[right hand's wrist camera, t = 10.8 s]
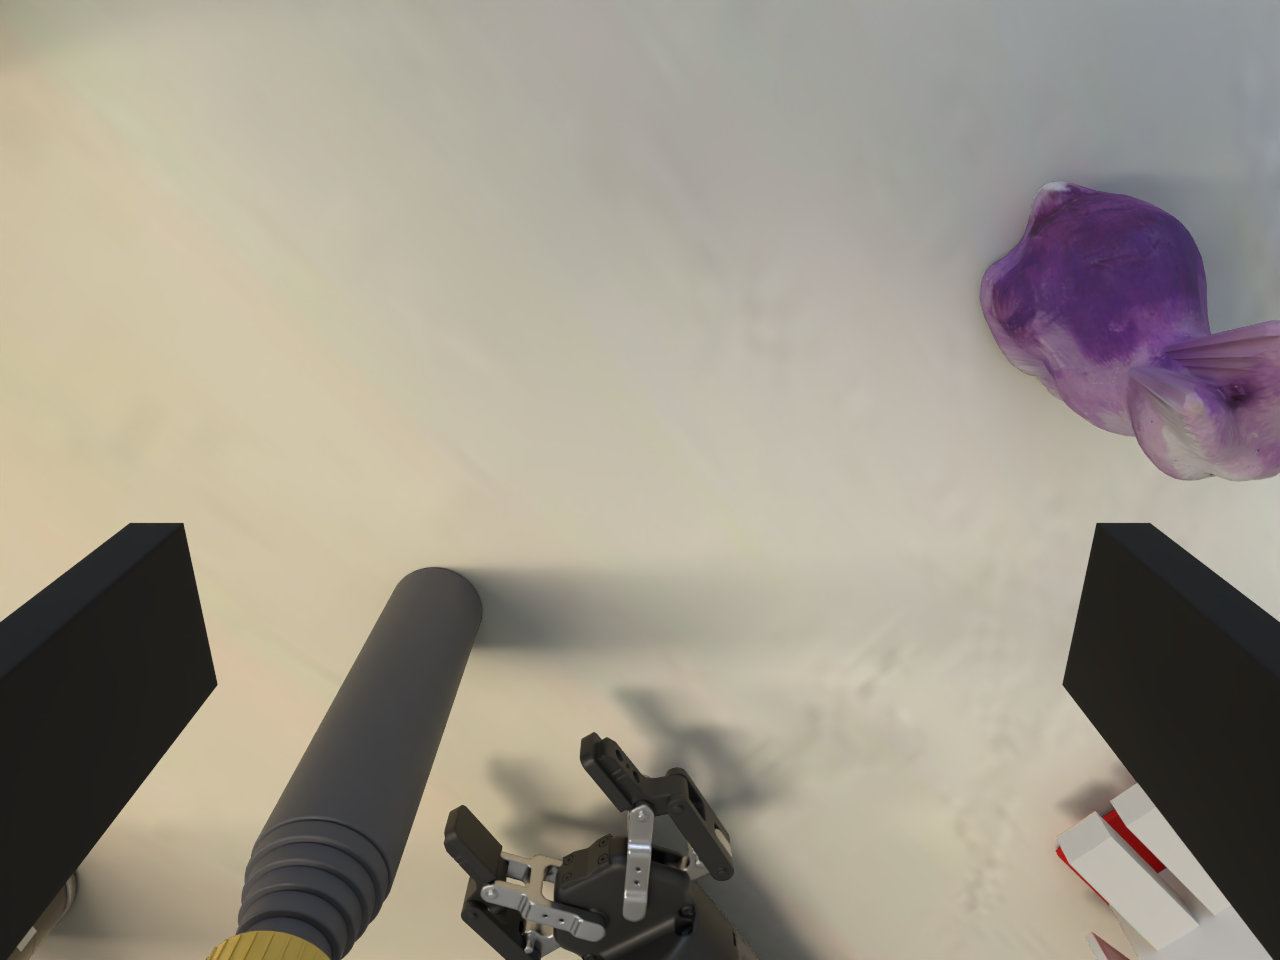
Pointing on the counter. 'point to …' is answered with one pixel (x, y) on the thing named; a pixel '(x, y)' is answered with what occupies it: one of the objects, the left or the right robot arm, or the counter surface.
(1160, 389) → the figurine
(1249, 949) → the toy
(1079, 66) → the counter surface
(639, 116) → the counter surface
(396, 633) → the bottle
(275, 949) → the cap
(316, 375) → the counter surface
